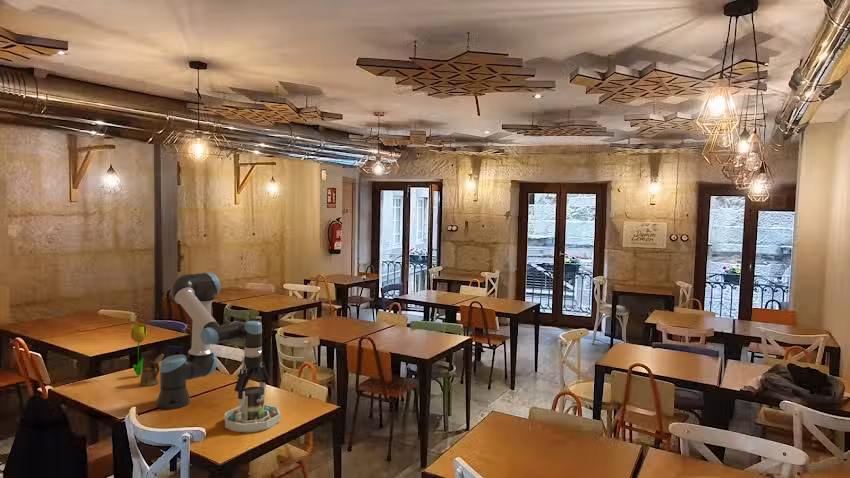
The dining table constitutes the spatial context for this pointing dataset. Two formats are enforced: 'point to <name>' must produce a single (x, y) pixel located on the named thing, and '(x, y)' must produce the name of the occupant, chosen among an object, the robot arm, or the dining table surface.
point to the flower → (138, 336)
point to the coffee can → (253, 404)
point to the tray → (238, 425)
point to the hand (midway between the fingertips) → (252, 400)
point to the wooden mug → (150, 372)
